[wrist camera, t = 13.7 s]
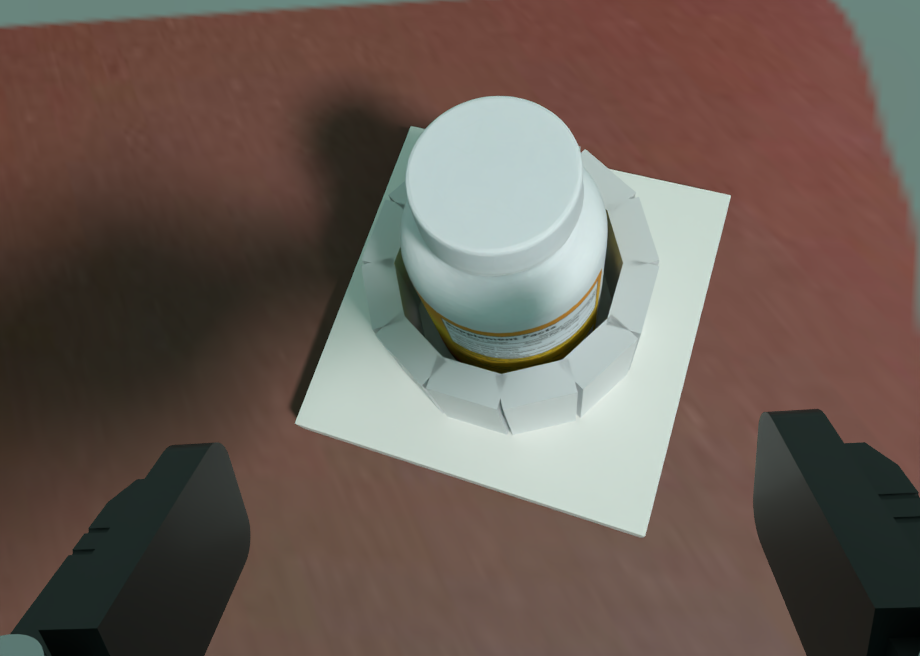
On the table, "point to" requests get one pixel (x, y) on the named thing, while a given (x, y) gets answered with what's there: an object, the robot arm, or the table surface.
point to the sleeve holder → (536, 388)
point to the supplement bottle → (504, 234)
